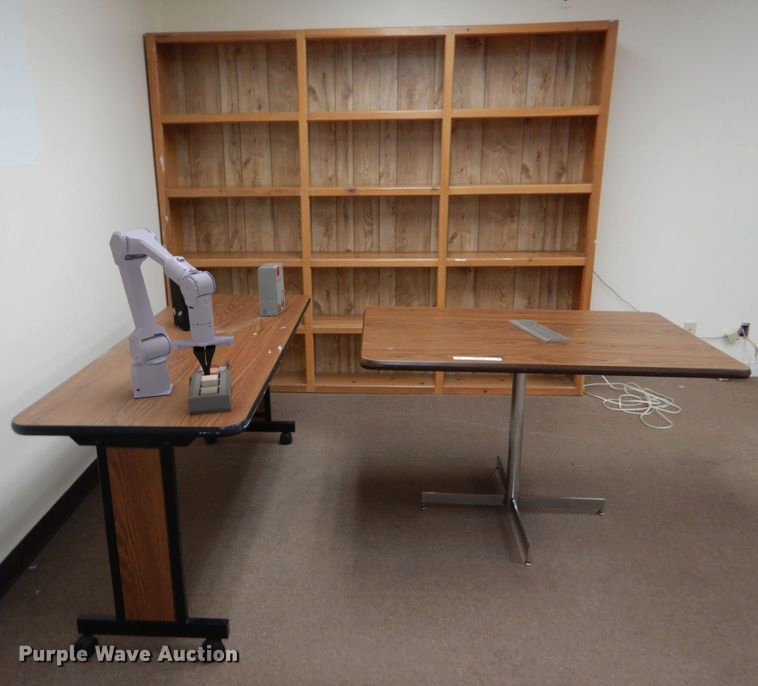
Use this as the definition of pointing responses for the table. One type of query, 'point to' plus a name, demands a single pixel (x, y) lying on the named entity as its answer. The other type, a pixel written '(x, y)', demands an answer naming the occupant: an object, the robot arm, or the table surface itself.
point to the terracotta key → (213, 372)
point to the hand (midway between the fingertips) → (207, 374)
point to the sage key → (209, 390)
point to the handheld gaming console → (179, 307)
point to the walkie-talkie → (199, 368)
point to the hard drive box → (271, 289)
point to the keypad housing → (213, 401)
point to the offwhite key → (209, 381)
